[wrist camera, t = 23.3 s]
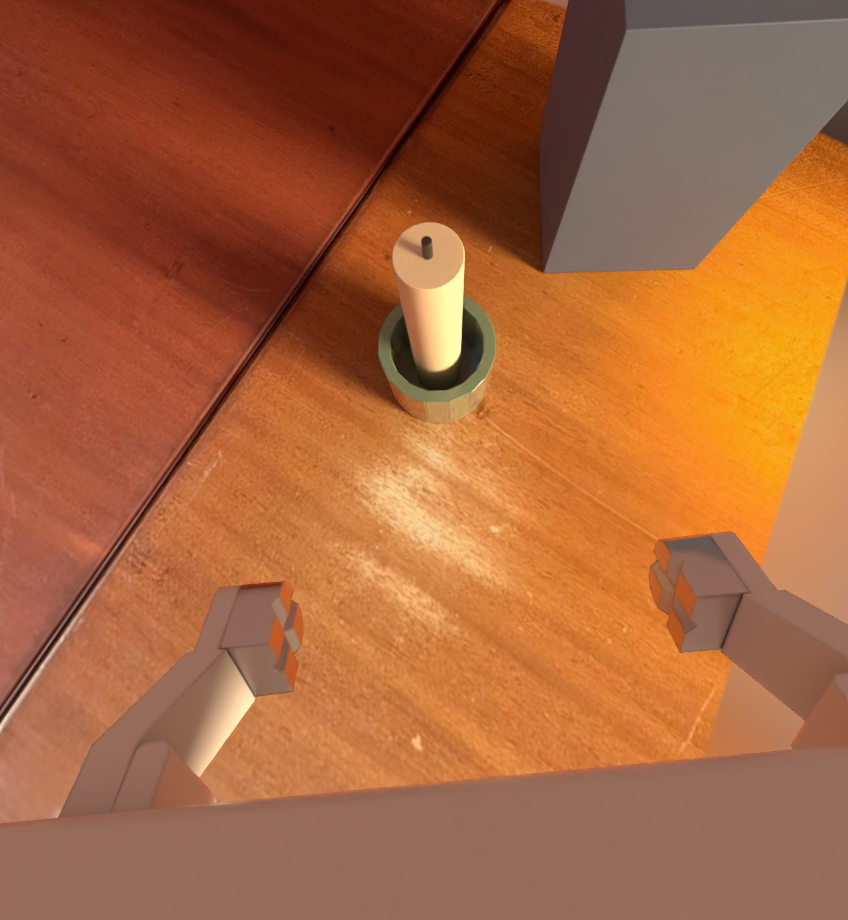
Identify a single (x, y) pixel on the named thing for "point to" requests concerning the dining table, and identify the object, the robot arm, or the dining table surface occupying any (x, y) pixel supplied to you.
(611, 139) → the riser
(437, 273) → the taper
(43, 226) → the dining table surface
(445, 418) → the holder
